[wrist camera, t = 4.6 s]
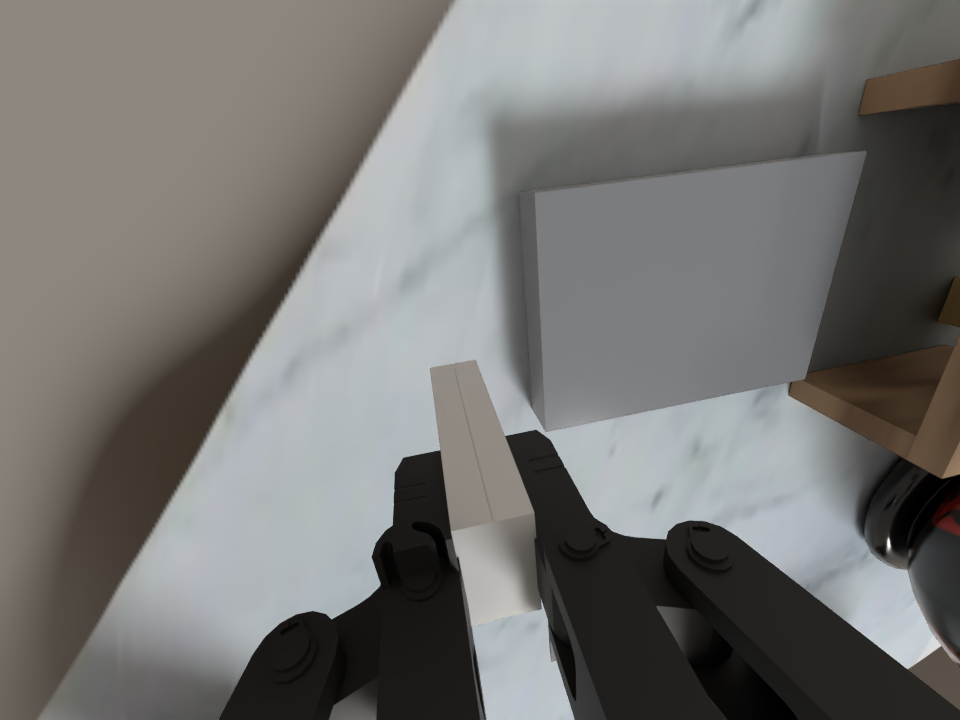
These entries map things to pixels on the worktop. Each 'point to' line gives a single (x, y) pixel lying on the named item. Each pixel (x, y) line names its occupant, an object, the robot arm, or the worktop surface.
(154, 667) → the worktop surface
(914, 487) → the amphora vase
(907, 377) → the walnut shelf
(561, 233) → the slate board
